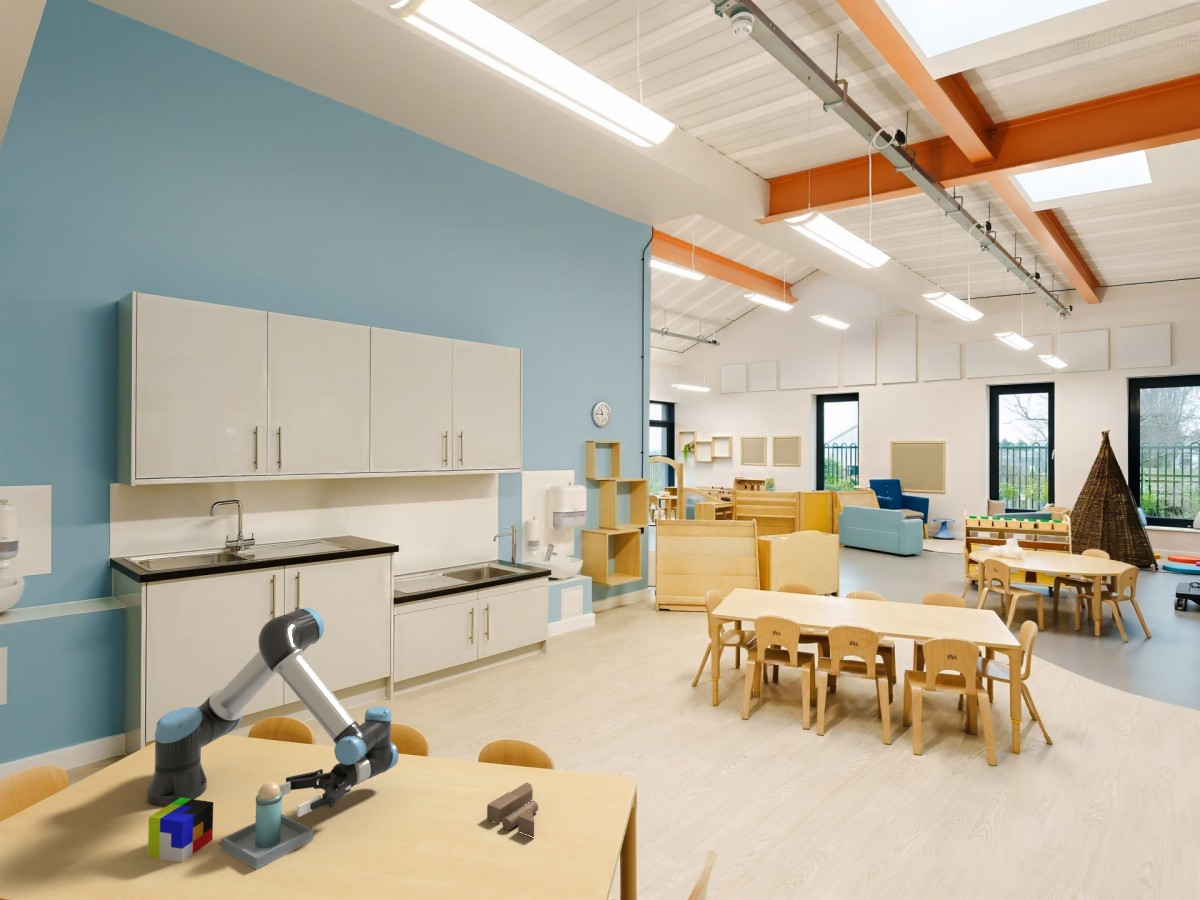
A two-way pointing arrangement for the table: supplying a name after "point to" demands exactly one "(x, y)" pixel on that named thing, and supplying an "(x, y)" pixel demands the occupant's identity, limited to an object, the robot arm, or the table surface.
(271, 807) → the ball tube
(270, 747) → the table surface
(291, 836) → the tray
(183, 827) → the puzzle toy
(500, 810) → the wooden block set
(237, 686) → the robot arm
